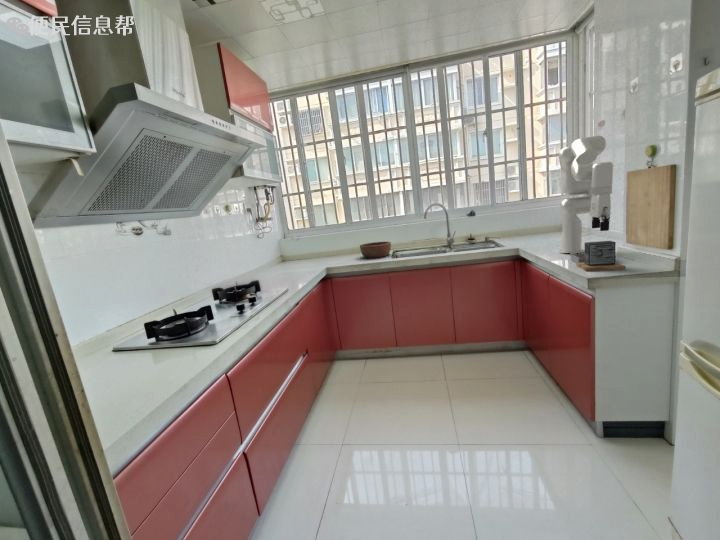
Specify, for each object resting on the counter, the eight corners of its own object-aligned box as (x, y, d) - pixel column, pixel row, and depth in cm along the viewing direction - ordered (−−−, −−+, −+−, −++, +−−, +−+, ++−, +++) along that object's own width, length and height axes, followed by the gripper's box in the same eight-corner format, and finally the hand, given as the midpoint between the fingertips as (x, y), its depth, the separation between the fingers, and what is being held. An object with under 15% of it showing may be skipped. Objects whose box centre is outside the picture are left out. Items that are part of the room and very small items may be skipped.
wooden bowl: (367, 254, 281) (365, 242, 279) (395, 252, 272) (394, 240, 270) (356, 259, 258) (355, 247, 256) (386, 258, 249) (385, 244, 247)
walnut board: (576, 265, 161) (576, 262, 161) (612, 263, 157) (612, 260, 156) (586, 271, 149) (586, 268, 149) (625, 269, 144) (625, 266, 144)
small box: (609, 262, 154) (610, 240, 153) (615, 264, 148) (616, 241, 146) (583, 263, 158) (584, 241, 156) (588, 266, 152) (589, 243, 150)
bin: (570, 259, 175) (570, 254, 174) (604, 258, 170) (604, 252, 170) (578, 264, 163) (578, 258, 163) (615, 262, 158) (615, 256, 158)
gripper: (584, 191, 156) (583, 227, 159) (599, 192, 140) (598, 232, 143) (603, 189, 153) (601, 226, 157) (620, 190, 137) (618, 231, 141)
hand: (600, 229), depth 150 cm, fingers open, 9 cm apart
